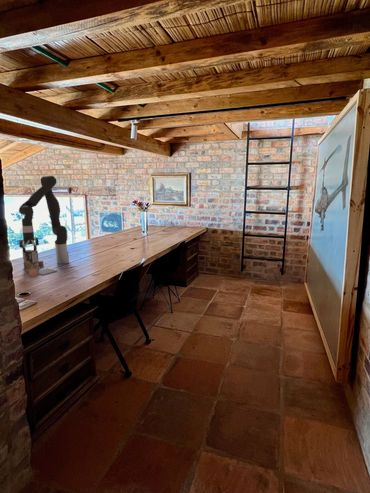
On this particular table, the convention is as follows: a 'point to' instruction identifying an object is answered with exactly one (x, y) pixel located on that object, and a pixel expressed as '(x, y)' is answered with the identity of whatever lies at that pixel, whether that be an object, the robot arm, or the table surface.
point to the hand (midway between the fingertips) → (29, 251)
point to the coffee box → (31, 260)
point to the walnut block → (40, 263)
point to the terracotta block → (33, 272)
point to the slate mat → (46, 271)
